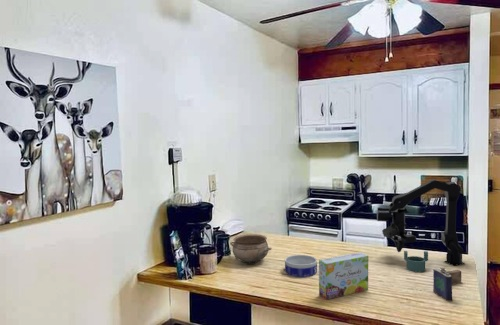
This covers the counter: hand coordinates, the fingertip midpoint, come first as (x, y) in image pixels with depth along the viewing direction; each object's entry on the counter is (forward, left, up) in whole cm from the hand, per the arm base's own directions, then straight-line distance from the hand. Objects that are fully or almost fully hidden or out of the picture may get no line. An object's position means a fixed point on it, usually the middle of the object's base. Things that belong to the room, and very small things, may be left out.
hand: (399, 251), depth 192 cm
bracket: (0, +12, -5) cm, 13 cm away
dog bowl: (+51, -6, -5) cm, 52 cm away
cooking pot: (+69, -29, -5) cm, 75 cm away
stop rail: (0, +31, -5) cm, 32 cm away
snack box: (+45, +23, -5) cm, 51 cm away
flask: (+11, +40, -5) cm, 42 cm away
